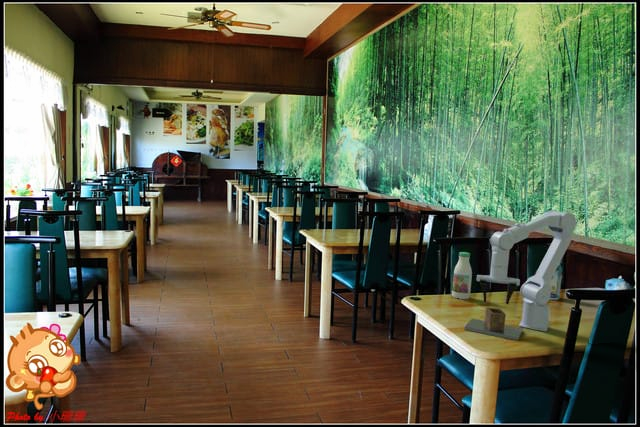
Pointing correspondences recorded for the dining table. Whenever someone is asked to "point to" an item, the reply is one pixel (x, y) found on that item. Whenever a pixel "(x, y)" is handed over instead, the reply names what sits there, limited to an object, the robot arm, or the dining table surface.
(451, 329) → the dining table surface
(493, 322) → the hollow wooden block
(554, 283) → the beverage bottle
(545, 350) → the dining table surface
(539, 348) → the dining table surface
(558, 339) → the dining table surface
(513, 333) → the plate
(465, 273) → the milk bottle
